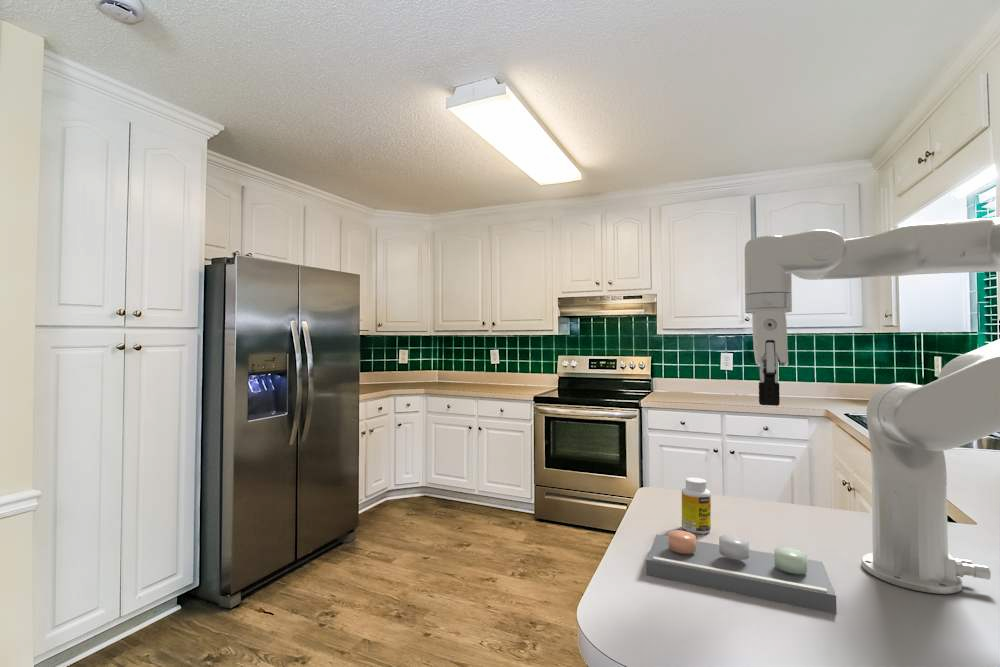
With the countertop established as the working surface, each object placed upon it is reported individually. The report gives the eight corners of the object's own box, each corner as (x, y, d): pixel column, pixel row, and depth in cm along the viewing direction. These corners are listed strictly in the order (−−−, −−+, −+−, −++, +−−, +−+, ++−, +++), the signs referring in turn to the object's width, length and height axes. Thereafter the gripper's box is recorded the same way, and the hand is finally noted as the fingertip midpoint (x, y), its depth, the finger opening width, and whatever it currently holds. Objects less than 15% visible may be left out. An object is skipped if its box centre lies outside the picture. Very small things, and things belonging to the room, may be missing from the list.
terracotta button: (696, 545, 84) (696, 533, 84) (694, 555, 80) (694, 542, 80) (670, 541, 86) (670, 528, 86) (666, 550, 82) (666, 537, 82)
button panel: (822, 577, 79) (822, 560, 79) (836, 613, 68) (836, 593, 68) (656, 547, 90) (656, 532, 90) (646, 575, 79) (646, 558, 79)
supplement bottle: (700, 537, 95) (699, 485, 96) (676, 528, 100) (675, 478, 100) (716, 531, 98) (716, 480, 99) (692, 523, 103) (692, 474, 103)
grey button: (748, 551, 80) (748, 537, 80) (749, 561, 76) (749, 547, 76) (719, 546, 82) (719, 533, 82) (718, 556, 78) (718, 542, 78)
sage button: (805, 564, 77) (804, 550, 77) (809, 576, 73) (808, 561, 73) (773, 559, 79) (773, 545, 79) (775, 570, 75) (775, 555, 75)
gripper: (796, 300, 80) (798, 411, 80) (787, 307, 94) (788, 401, 93) (745, 301, 83) (747, 408, 83) (744, 308, 97) (745, 399, 96)
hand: (769, 404), depth 88 cm, fingers closed
